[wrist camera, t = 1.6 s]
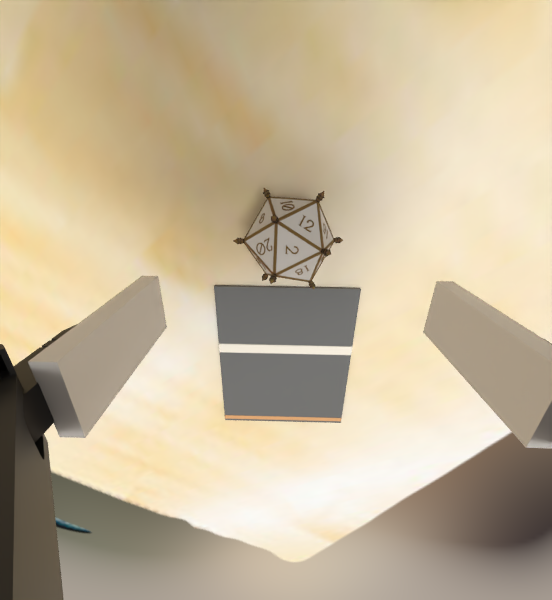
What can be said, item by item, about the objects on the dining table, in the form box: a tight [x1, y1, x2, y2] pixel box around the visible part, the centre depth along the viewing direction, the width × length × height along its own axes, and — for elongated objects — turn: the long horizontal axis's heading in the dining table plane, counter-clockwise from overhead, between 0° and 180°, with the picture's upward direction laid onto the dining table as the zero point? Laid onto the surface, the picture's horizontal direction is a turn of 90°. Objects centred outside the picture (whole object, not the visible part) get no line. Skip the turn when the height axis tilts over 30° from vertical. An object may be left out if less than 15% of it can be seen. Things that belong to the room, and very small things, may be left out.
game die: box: [234, 188, 343, 289], centre depth 25 cm, size 9×8×10 cm
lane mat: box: [214, 285, 361, 423], centre depth 35 cm, size 20×16×1 cm
